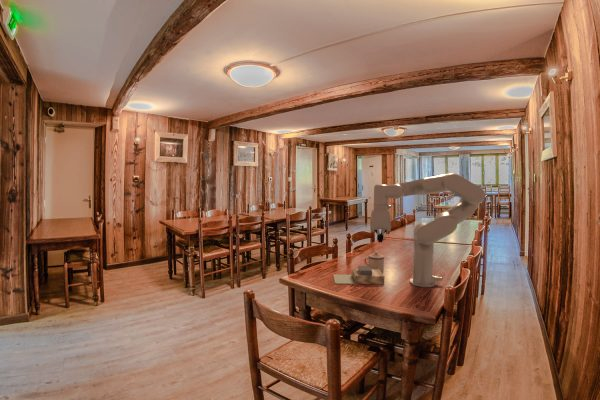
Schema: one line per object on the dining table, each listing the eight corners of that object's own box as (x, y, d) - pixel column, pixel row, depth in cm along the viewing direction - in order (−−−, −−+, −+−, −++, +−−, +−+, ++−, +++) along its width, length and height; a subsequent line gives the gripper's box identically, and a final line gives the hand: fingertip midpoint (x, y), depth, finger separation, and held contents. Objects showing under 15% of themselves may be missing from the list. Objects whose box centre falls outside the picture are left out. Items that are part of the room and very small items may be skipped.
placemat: (351, 275, 177) (351, 274, 177) (354, 284, 162) (354, 283, 162) (333, 275, 178) (333, 274, 178) (335, 284, 163) (335, 283, 163)
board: (379, 276, 176) (379, 269, 175) (384, 284, 163) (384, 276, 162) (352, 275, 176) (352, 268, 176) (355, 283, 163) (355, 276, 163)
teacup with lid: (386, 270, 186) (386, 251, 185) (380, 274, 179) (380, 254, 178) (367, 267, 193) (367, 248, 193) (361, 270, 186) (361, 251, 185)
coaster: (369, 270, 174) (369, 265, 174) (372, 275, 165) (372, 270, 165) (358, 270, 174) (358, 265, 174) (360, 274, 165) (360, 270, 165)
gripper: (393, 207, 170) (392, 240, 171) (365, 207, 171) (364, 240, 172) (397, 208, 163) (396, 243, 164) (367, 208, 163) (367, 243, 164)
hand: (380, 241), depth 168 cm, fingers closed
